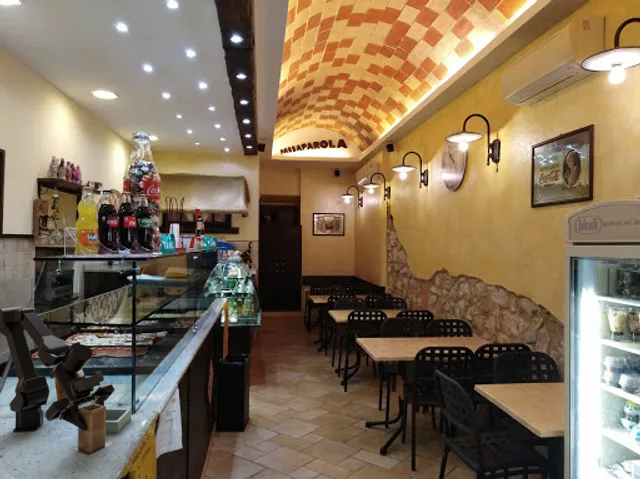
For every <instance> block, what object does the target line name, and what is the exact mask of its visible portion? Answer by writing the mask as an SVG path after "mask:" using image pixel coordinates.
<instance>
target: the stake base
mask: <svg viewBox="0 0 640 479" xmlns="http://www.w3.org/2000/svg"><path fill="white" fill-rule="evenodd" d="M112 445H114V443H113V442H109V441H106V440H105V445H103V446H101V447H99V448H97V449H95V450H93V451H90V452H89V451H86V450H83V449H80V448H78V444H77V445H74V446H72V447H71V448H70V447H69V450H72V451H75V452H78V453H80V454H83V455H87V456H91V455H93V454H94V453H97V452H100V451H101V450H104V449H106V448H107V447H110V446H112Z"/></svg>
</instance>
